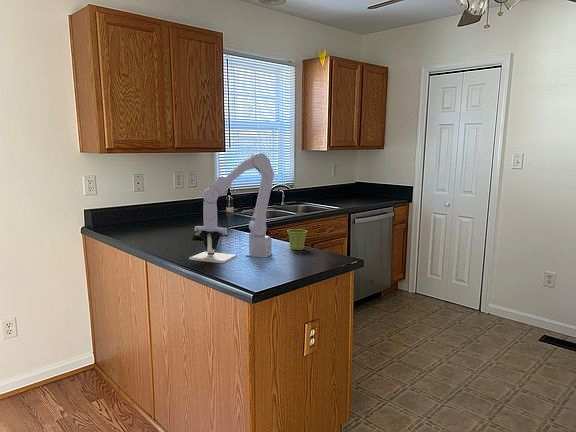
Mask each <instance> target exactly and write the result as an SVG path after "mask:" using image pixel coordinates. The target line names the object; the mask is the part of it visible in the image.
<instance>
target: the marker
mask: <svg viewBox="0 0 576 432" xmlns="http://www.w3.org/2000/svg"><path fill="white" fill-rule="evenodd" d="M206 250H207V252H208V255H214V253H215V250H213V249H212V238H211V235H210V234H207V249H206Z"/></svg>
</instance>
